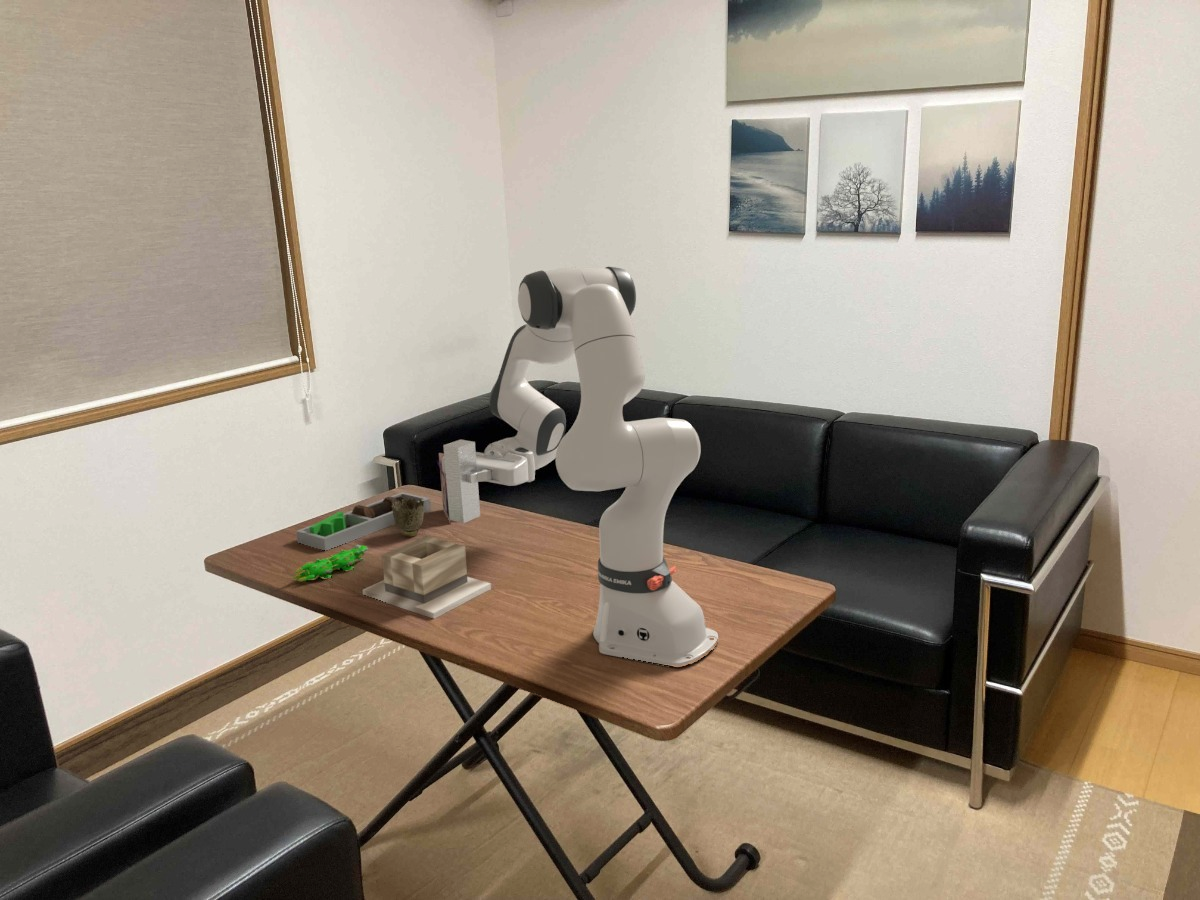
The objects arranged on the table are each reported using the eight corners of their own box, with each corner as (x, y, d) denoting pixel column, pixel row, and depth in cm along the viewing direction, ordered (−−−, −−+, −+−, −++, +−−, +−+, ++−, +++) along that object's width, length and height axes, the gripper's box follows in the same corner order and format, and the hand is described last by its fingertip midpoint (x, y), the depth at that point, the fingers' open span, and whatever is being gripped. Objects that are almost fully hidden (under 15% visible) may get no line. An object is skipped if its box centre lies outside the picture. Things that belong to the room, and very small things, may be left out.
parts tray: (430, 509, 237) (430, 498, 236) (325, 551, 211) (324, 539, 211) (403, 503, 243) (402, 492, 242) (297, 543, 217) (296, 530, 216)
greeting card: (439, 510, 237) (435, 453, 233) (468, 506, 239) (464, 449, 235) (446, 524, 226) (442, 465, 222) (477, 520, 228) (473, 461, 224)
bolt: (406, 516, 239) (362, 532, 226) (393, 504, 240) (349, 520, 228) (413, 499, 236) (369, 514, 224) (400, 487, 238) (355, 502, 225)
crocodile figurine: (376, 562, 205) (375, 544, 203) (305, 590, 191) (302, 571, 190) (358, 555, 209) (356, 537, 208) (287, 582, 196) (284, 563, 194)
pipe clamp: (325, 547, 214) (322, 528, 213) (311, 545, 216) (309, 527, 214) (354, 530, 224) (352, 512, 223) (341, 529, 226) (339, 511, 224)
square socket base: (491, 588, 189) (488, 547, 186) (434, 618, 176) (430, 574, 174) (421, 568, 200) (417, 528, 198) (363, 595, 188) (358, 553, 185)
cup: (433, 532, 221) (430, 500, 219) (411, 542, 215) (408, 510, 213) (409, 527, 225) (407, 496, 223) (387, 537, 219) (384, 505, 217)
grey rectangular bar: (480, 516, 195) (474, 441, 191) (463, 523, 191) (457, 447, 187) (466, 512, 197) (460, 439, 193) (449, 519, 193) (443, 445, 189)
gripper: (467, 440, 207) (421, 456, 196) (538, 452, 195) (494, 469, 185) (469, 468, 209) (424, 484, 198) (540, 481, 197) (496, 499, 186)
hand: (458, 477), depth 191 cm, fingers closed on grey rectangular bar, 4 cm apart
